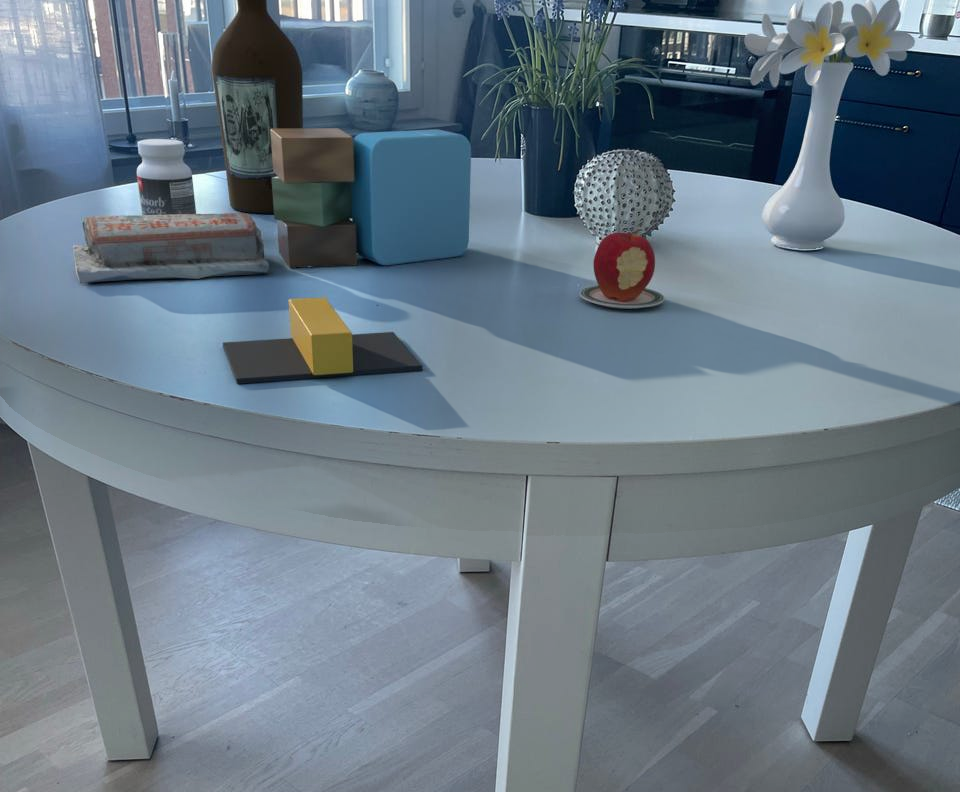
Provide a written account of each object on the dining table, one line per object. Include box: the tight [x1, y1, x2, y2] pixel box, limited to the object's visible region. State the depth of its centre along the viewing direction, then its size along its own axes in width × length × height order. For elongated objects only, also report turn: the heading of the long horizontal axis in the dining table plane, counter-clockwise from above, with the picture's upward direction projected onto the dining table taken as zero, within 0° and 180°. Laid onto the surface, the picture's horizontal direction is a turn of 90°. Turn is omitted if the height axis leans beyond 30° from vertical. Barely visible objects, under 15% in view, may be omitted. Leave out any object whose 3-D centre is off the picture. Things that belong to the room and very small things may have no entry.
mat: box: [222, 331, 423, 385], centre depth 79 cm, size 14×9×1 cm, turn 108°
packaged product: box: [72, 212, 270, 284], centre depth 100 cm, size 18×5×10 cm
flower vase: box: [743, 0, 916, 249], centre depth 113 cm, size 13×18×25 cm
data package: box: [351, 128, 472, 267], centre depth 106 cm, size 12×4×12 cm, turn 125°
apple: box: [579, 228, 665, 310], centre depth 95 cm, size 8×8×6 cm
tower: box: [270, 127, 358, 269], centre depth 104 cm, size 8×8×12 cm
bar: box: [288, 296, 353, 375], centre depth 78 cm, size 3×10×3 cm, turn 18°
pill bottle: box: [136, 138, 197, 215], centre depth 109 cm, size 6×6×10 cm
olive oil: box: [211, 0, 304, 215], centre depth 123 cm, size 11×11×25 cm
